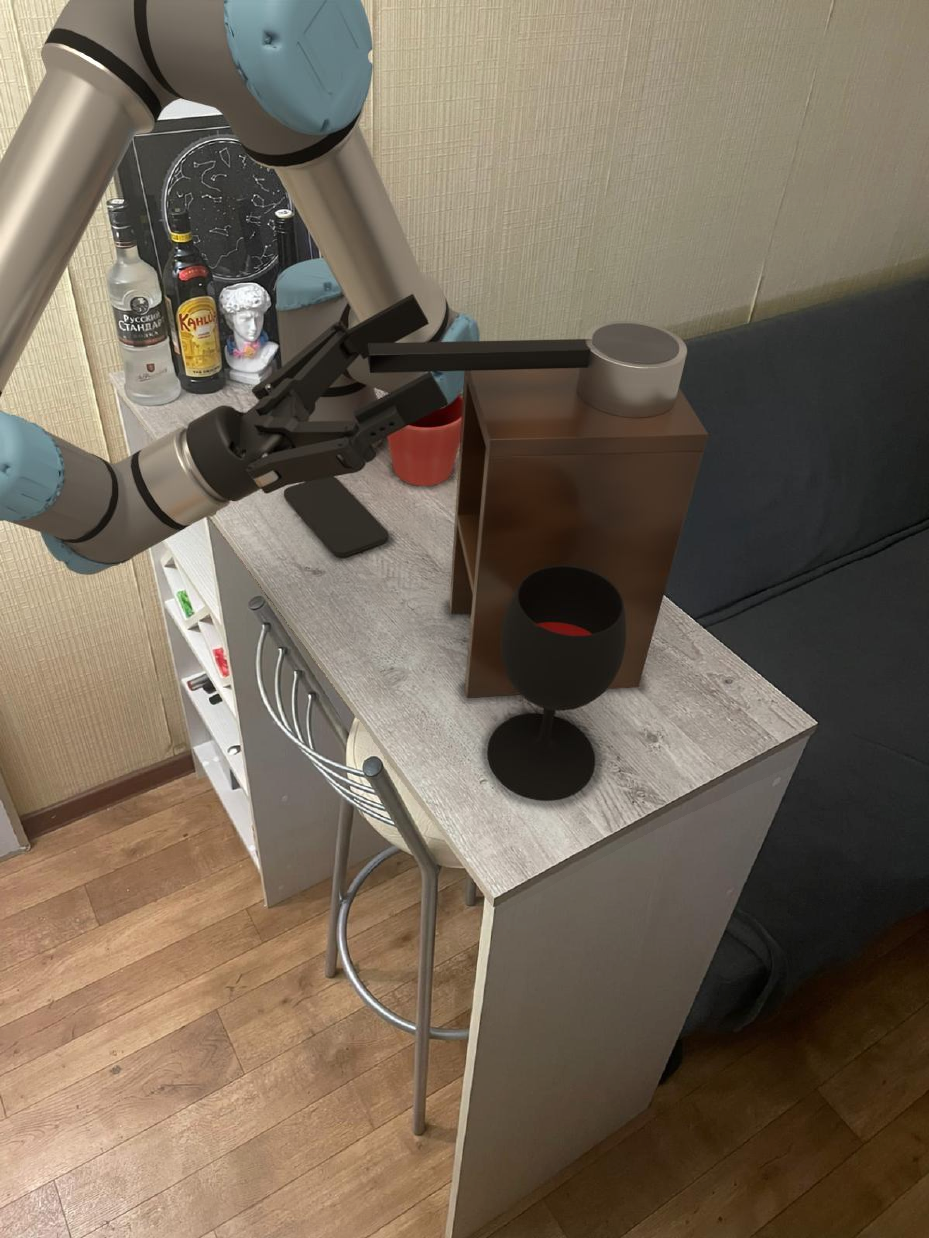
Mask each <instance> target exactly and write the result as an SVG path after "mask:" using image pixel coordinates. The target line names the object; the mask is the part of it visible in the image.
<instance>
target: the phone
mask: <svg viewBox="0 0 929 1238" xmlns="http://www.w3.org/2000/svg"><path fill="white" fill-rule="evenodd" d="M283 497H284V499H285V500H286V502H288V503H289V504H290V506H291V507H292V508H293V509H294V511H295V512H296V513H297V514H298V515H299V516H300V517H301V518H302V520H303V521H304V522H305V523H306V524H307V526H308V527H309V528H310V529H311V530H312V532H314V534H315V535H316V536H317V537H318V538H319V539H320V541H321V542H322V543H323V544H324V545H325V546H326V547H327V548H328V550H329V551H330V552H331V553H332V554H333V555H334V556H336V557H339V558H345V557H349V556H352V555H355V554H358V553H361V552H363V551H366V550H368V549H372V548H374V547H378V546H380V545H383V544H385V543H386V542H388V541H389V531H388V530H387V529H386V528H385V527H384V526H383V524H381V523H380V521H378V519H377V518H376V517H375V516H374V515H372V514H371V512H370V511H369V510H368V509H367V508H366V507H365V506H364V505H363V504H362V503H361V502H360V501H359V500H358V498H356V496H355V495H353V493H352V492H350V490H349V489H348V488H347V487H346V486H345V485H344V484H343V483H342V482H341V481H340V480H339V479H338V478H337V476H333V477H328V478H323V479H317V480H312V481H306V482H301V483H296V484H293V485H291V486H288V487H286V488H285V489H284V490H283Z"/></svg>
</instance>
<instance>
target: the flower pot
mask: <svg viewBox="0 0 929 1238" xmlns="http://www.w3.org/2000/svg"><path fill="white" fill-rule="evenodd" d="M462 402H463V396H461V395H460V394H459V395H458V396H457V398H456V399H455V400H454V401H453V402H452V403H451V404H449V405H447V406H446V407H444V408H442V409H438V410H436V411H435V412H433V413H431V414H429V415H427V416H425V417H423V418H421V419H419V420H417V421H415V422H414V423H412V424H410V425H408V426H406V427H404V428H402V429H400V430H398V431H396V432H394V433H392V434H391V435H389V436H387V437H386V438H387V443H388V448H389V454H390V458H391V463H392V467H393V471H394V473H395V475H396V476H397V478H399V479H401V480H402V481H403V482H405V483H407V484H410V485H413V486H419V487H420V486H421V487H429V486H430V487H431V486H434V485H438V484H441V483H443V482H445V481H446V480H447V479H449V477H450V476H451V474H452V472H453V468H454V465H455V462H456V458H457V454H458V452H459V451H458V450H459V448H460V432H461V417H462Z"/></svg>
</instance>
